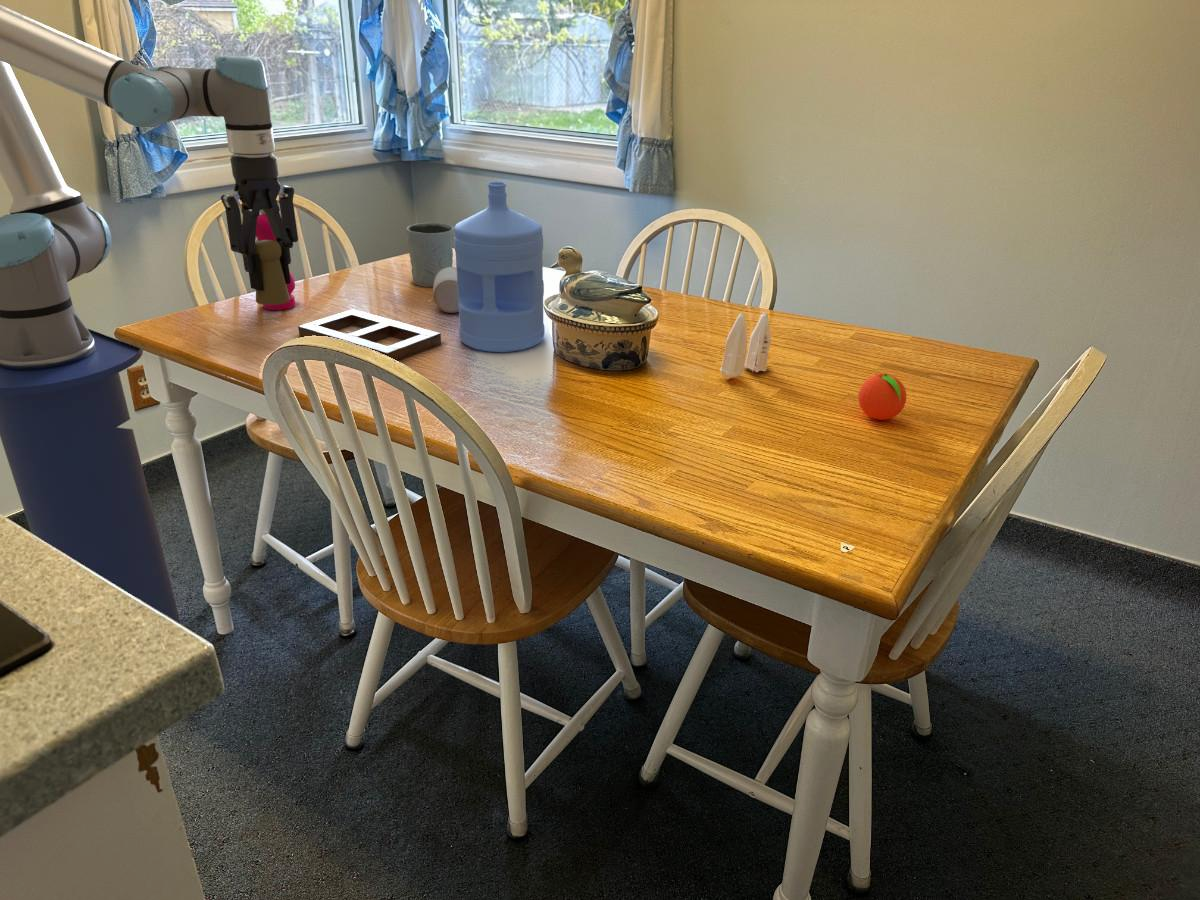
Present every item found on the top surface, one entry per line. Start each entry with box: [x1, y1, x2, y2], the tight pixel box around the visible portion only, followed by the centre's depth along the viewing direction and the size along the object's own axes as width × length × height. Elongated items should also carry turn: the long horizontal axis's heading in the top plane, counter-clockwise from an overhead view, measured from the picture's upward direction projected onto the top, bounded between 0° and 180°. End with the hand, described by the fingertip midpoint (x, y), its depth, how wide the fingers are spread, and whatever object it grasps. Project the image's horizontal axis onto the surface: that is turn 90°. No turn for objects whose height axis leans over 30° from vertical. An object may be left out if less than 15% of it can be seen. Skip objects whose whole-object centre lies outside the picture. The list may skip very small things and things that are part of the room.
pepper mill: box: [255, 209, 296, 311], centre depth 174 cm, size 7×7×20 cm
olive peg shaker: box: [254, 240, 290, 306], centre depth 161 cm, size 6×6×11 cm
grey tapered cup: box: [406, 222, 455, 288], centre depth 193 cm, size 10×10×12 cm
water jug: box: [453, 181, 546, 353], centre depth 156 cm, size 16×16×28 cm
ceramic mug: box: [432, 266, 459, 314], centre depth 177 cm, size 11×8×8 cm
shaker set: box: [719, 311, 772, 380], centre depth 146 cm, size 12×4×11 cm, turn 134°
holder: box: [297, 308, 442, 361], centre depth 161 cm, size 13×24×2 cm, turn 55°
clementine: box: [857, 373, 907, 421], centre depth 132 cm, size 8×7×7 cm
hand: (271, 285), depth 162 cm, fingers closed on olive peg shaker, 5 cm apart
